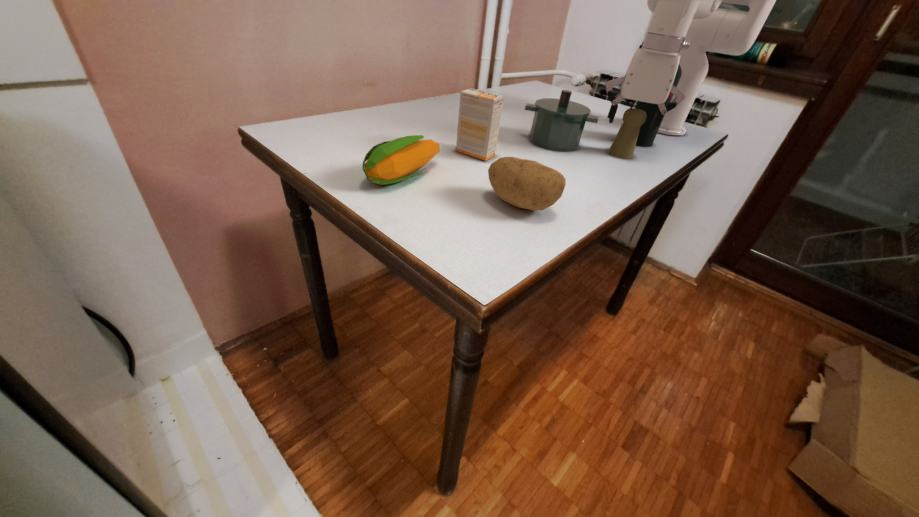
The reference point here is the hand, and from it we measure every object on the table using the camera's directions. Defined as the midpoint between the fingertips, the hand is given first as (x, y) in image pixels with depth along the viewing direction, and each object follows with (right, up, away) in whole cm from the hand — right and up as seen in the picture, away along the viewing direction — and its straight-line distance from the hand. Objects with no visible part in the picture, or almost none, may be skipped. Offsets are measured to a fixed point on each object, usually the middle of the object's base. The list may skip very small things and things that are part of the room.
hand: (630, 125), depth 88 cm
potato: (-31, -22, -21) cm, 44 cm away
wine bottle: (+8, +1, +15) cm, 17 cm away
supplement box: (-38, -8, -4) cm, 39 cm away
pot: (-17, -2, +7) cm, 18 cm away
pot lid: (-16, +5, +2) cm, 17 cm away
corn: (-52, -16, -16) cm, 57 cm away
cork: (-1, -6, +5) cm, 7 cm away
